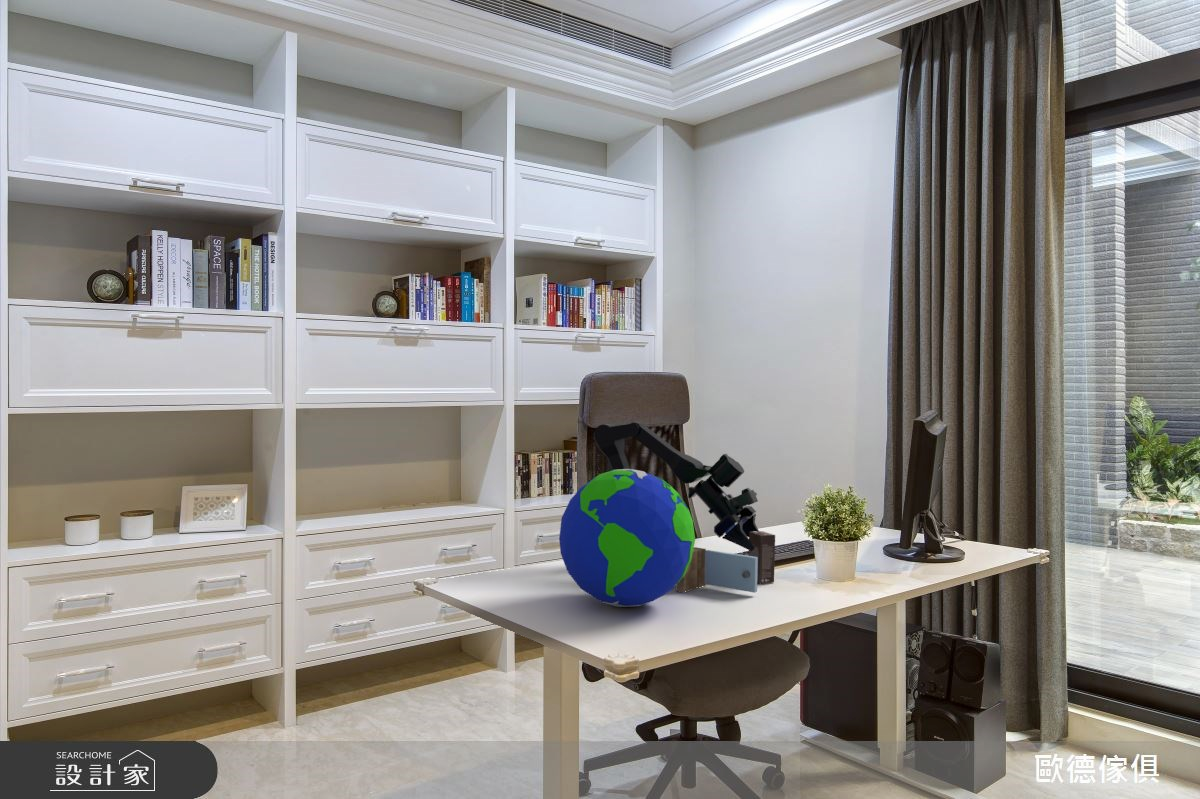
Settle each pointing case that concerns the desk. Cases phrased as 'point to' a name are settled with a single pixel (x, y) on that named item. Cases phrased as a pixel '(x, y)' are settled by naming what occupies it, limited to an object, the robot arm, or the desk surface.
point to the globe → (626, 537)
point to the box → (763, 555)
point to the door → (731, 570)
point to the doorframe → (694, 572)
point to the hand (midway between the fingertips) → (758, 546)
